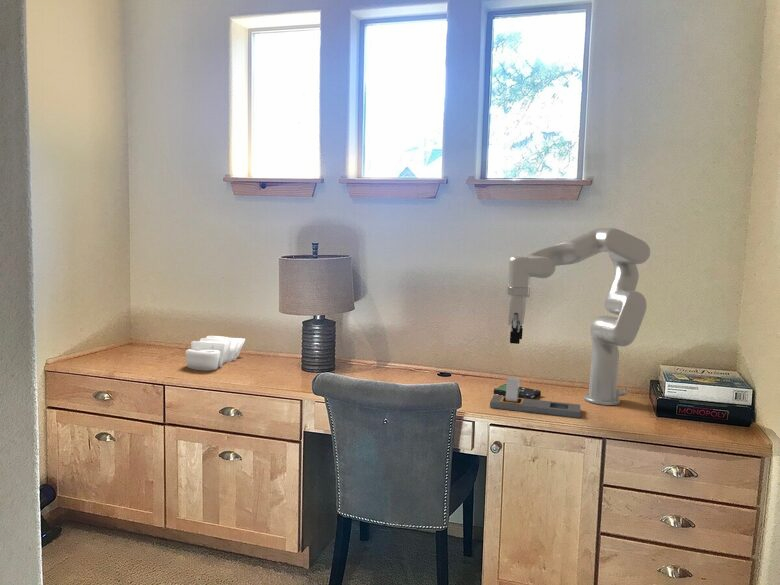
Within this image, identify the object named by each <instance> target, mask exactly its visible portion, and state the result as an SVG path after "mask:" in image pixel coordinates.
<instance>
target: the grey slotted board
mask: <svg viewBox="0 0 780 585" xmlns="http://www.w3.org/2000/svg"><path fill="white" fill-rule="evenodd" d="M505 400H506V396H501V395H496V394H493V396H492V398H491V400H490V401H489V408H490V407H491V408H490V409H497V408H500V409H499V410H506V409H508V411H514V410H515V411H517V412H523V413H533V414H541V415H550V416H557V417H569V418H575V419H580V418H581V404H577V403H568V402H561V401H560V402H559V401H551V400H550V401H549V400H543V399H542V400H541V399H525V398H519V400H518V403H512V402H505ZM515 411H514V412H515Z"/></svg>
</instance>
